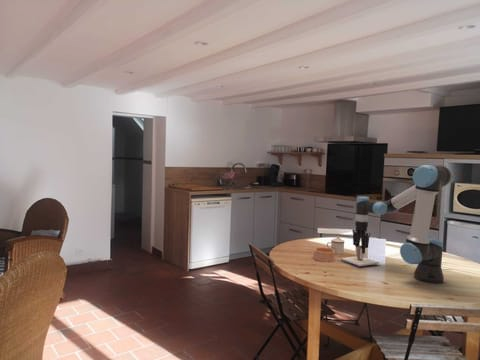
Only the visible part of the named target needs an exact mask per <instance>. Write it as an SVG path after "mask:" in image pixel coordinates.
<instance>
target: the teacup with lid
mask: <svg viewBox="0 0 480 360" xmlns="http://www.w3.org/2000/svg"><path fill="white" fill-rule="evenodd" d="M329 244H330V247H329ZM326 248H329V249H333V250H334V251H335V255H343V254H344V250H345V240H343V239H342V238H340V236H336V237H335V238H332V239H331V240H330V241H328V242H327V243H326Z"/></svg>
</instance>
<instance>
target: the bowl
mask: <svg viewBox="0 0 480 360" xmlns="http://www.w3.org/2000/svg"><path fill="white" fill-rule="evenodd" d="M329 248H330V247H329ZM329 248H327V247H316V248H314V249H313V259H314V261H316V262H323V263H331V262H335V259H336V257H335V256H336V254H335V251H334V250H333V249H329Z"/></svg>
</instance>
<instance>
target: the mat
mask: <svg viewBox="0 0 480 360" xmlns="http://www.w3.org/2000/svg"><path fill="white" fill-rule="evenodd" d="M337 262H341V263H343V264H346V265H347V266H351V267H353V268H356V269H358V270H360V269H366V268H367V269H370V268H375V267H381V266H382V265H381V264H373V265H365V266H358V265H355V264H352V263H350V262H347V261H344V260H341V259H340V260H337Z"/></svg>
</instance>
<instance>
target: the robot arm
mask: <svg viewBox="0 0 480 360" xmlns="http://www.w3.org/2000/svg"><path fill="white" fill-rule="evenodd" d="M452 177H453V176H452V172H451V171H450V169H449V168H448V167H446V166H444V165H442V164H441V165H439V164H438V165H435V164H423V165H420V166H418V167H417V168H415V170H414V171H413V174H412V181H413V184H414V185H412V186H410V187H409V188H407V189H406V190H404V191H402V192H400V193H398V194H396V195H394V197H392V198H390V199H388V200H383V201H379V200H378V201H377V200H376V201H374V200H370V197H369V196H362V195H361V196H357V198H356V204H355V229H352V245H353V246H354V247H355V256H356V257H357V256H358V246H359V245H360V244H361V245H360V246H362V248H361V249H360V259H363V258H364V257H365V254H366V249H368V248H369V243H370V236H371V232H369V231H368V226H369V222H368V221H369V214H373V215H374V214H375V215H377V216H378V215H382V216H383V215H385V214H394V213H398V212H399V210H400V209H401V208H403V207H405V206H407V205H409V204H411V203H412V202H414V201H415V205H414V211H413V216H412V221H411V228H410V232H409V235H407V236H406V239H405V243H403V244H402V245H401V246H400V248H399V254H400V256H401V258H402V260H403V261H404V262H405V263H407V264H409V265H416V268H415V270H414V272H413V278H415V280H418V281H421V282H425V283H428V284H429V283H430V284H442V283H444V282H445V277H444V273H443V272H444V271H443V269H442V264H443V263H442V260H443V251H444V247H443V246H444V245H443V244H444V243H443V241H441V240H439V239H435V238H430V237H429V231H430V226H431V221H432V215H433V210H434V204H435V199H436V196H437V195H438V194H439V193H440V191H441V189H442V188H444V187H446V186H448V185H449V184H450V183H451V181H452Z"/></svg>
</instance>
